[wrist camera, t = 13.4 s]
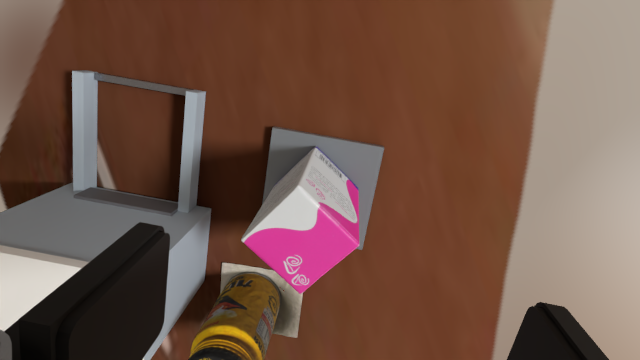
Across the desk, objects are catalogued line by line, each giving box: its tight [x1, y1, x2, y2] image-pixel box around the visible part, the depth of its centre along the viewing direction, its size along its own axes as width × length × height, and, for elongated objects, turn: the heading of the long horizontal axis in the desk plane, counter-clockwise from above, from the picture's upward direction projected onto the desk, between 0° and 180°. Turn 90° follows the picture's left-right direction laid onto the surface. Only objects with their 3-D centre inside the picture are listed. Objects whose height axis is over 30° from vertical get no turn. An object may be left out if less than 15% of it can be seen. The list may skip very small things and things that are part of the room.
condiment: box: [188, 263, 303, 360], centre depth 36 cm, size 7×8×12 cm
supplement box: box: [241, 146, 359, 294], centre depth 31 cm, size 6×6×12 cm
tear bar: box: [95, 73, 194, 96], centre depth 36 cm, size 1×9×1 cm, turn 80°
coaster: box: [262, 126, 384, 250], centre depth 37 cm, size 10×10×1 cm
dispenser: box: [0, 71, 211, 360], centre depth 32 cm, size 19×14×14 cm
